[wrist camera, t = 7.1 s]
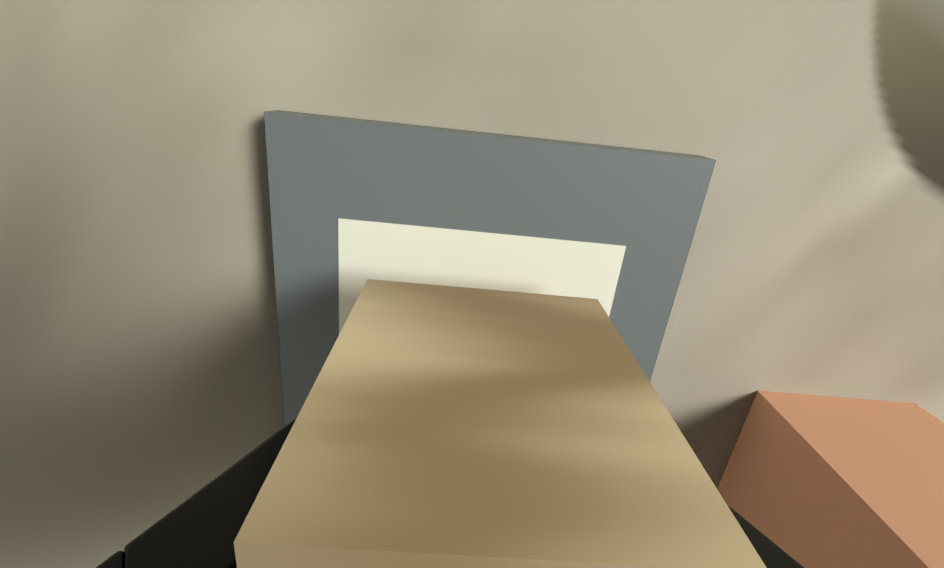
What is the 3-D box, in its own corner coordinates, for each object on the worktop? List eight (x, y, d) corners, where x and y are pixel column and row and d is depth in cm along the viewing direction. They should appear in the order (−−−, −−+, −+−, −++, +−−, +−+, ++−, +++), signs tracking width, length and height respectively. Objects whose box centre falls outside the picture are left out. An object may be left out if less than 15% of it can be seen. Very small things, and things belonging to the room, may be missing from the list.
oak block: (597, 299, 8) (770, 572, 4) (558, 473, 10) (643, 821, 5) (367, 278, 8) (233, 542, 3) (364, 459, 9) (270, 812, 5)
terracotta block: (913, 402, 11) (1217, 616, 7) (845, 520, 13) (1055, 759, 8) (757, 389, 11) (961, 601, 7) (706, 510, 13) (843, 750, 8)
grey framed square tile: (700, 155, 9) (716, 160, 8) (601, 501, 12) (608, 521, 12) (276, 110, 9) (263, 112, 8) (297, 481, 12) (288, 501, 11)
